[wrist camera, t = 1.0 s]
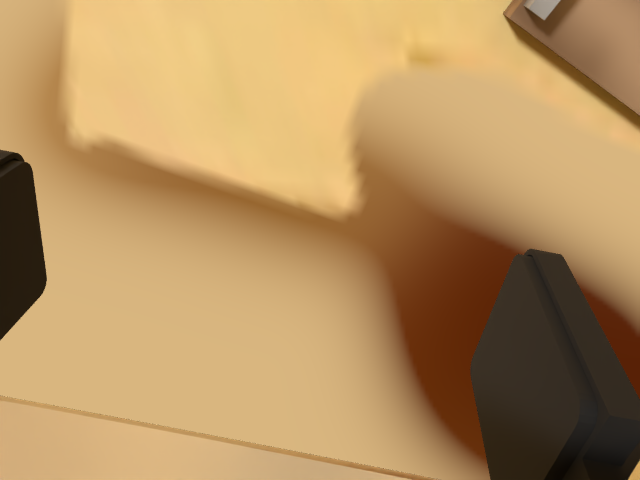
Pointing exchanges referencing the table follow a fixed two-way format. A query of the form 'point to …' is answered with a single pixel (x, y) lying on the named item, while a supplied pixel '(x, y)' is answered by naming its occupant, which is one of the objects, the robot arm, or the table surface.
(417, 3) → the table surface
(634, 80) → the stand
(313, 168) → the table surface
